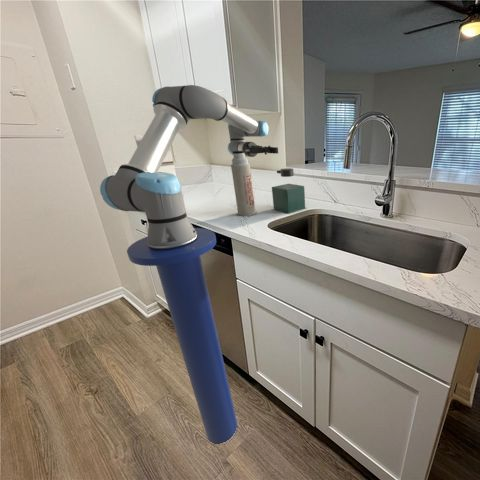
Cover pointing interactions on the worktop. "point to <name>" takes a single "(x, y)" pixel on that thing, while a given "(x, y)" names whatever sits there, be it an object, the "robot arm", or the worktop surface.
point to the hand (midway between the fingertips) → (276, 150)
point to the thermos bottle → (242, 184)
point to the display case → (167, 163)
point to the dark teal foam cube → (288, 198)
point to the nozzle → (286, 172)
